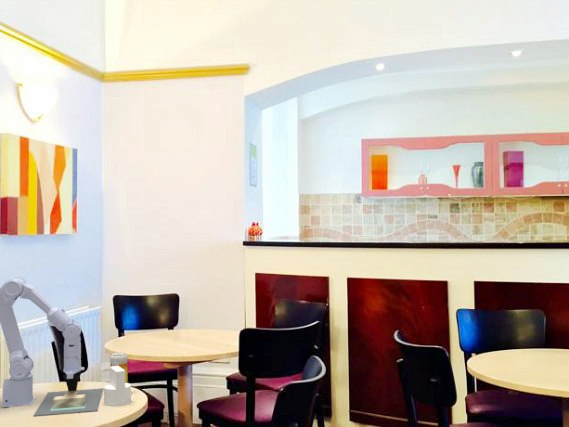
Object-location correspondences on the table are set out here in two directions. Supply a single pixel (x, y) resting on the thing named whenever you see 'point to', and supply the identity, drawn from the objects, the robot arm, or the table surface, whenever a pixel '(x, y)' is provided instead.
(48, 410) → the mat
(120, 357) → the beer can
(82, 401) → the t block
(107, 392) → the cylinder with rectangular tab
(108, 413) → the table surface
